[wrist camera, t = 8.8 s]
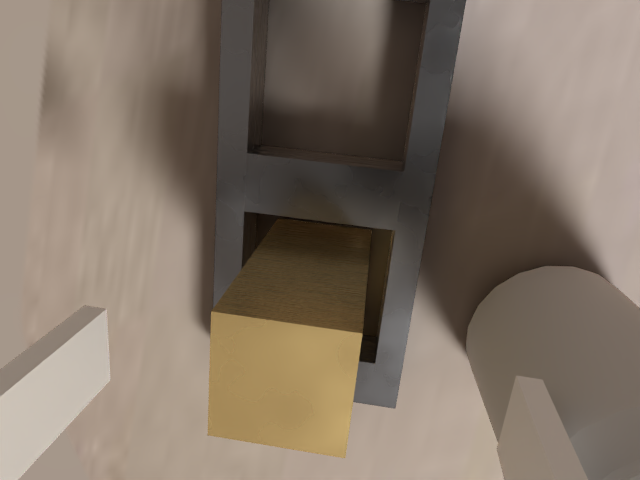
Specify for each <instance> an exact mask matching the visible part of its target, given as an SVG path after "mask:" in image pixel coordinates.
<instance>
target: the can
mask: <svg viewBox="0 0 640 480" xmlns="http://www.w3.org/2000/svg"><path fill="white" fill-rule="evenodd" d="M466 351H467V355H468V358H469V361H470V365H471V368H472V371H473V374H474V377H475V380H476V383H477V385H478V388H479V391H480V394H481V397H482V399H483V402H484V405H485V408H486V411H487V413H488V416H489V419H490V422H491V424H492V427H493V430H494V433H495V436H496V438H497V441H498V442H499V438H500V435H501V431H502V427H503V423H504V419H505V416H506V412H507V408H508V404H509V401H510V397H511V393H512V389H513V385H514V382H515V378H516V375H517V376H523V377H529V378H536V379H542V380H543V382H544V384H545V386H546V388H547V391H548V393H549V395H550V397H551V399H552V402H553V404H554V406H555V408H556V410H557V413H558V415H559V417H560V419H561V421H562V424H563V426H564V428H565V430H566V432H567V435H568V437H569V439H570V441H571V443H572V446H573V448H574V450H575V452H576V454H577V457H578V459H579V461H580V463H581V465H582V468H583V470H584V472H585V474H586V476H587V479H588V480H640V308H639V307H638V306H637V305H636V304H634V303H633V302H632V301H631V300H630V299H629V298H628V297H627V296H625V295H624V294H623V293H622V292H621V291H620V290H619V289H617V288H616V287H615V286H613V285H612V284H611V283H609V282H608V281H607V280H605V279H604V278H603V277H601V276H600V275H599V274H596V273H593V272H590V271H586V270H583V269H580V268H577V267H574V266H544V267H540V268H536V269H532V270H529V271H525V272H521V273H518V274H516V275H515V276H513V277H511V278H510V279H508V280H506V281H505V282H503V283H501V284H500V285H498V286H496V287H495V288H494V289H493V290H492V291H491V292H490V293H489V294H488V295H487V296H486V298H485V299H484V300H483V301H482V302H481V303H480V304H479V305H478V307H477V309H476V311H475V313H474V315H473V317H472V319H471V321H470V324H469V326H468V331H467V343H466Z"/></svg>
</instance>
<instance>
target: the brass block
mask: <svg viewBox="0 0 640 480" xmlns="http://www.w3.org/2000/svg"><path fill="white" fill-rule="evenodd" d="M371 233H372V230H368V229H360V228H352V227H345V226H337V225H329V224H321V223H313V222H306V221H298V220H290V219H282V218H278V220H277V221H276V222H275V224H274V225H273V226H272V228H271V229H270V231H269V232H268V233H267V235H266V236H265V238H264V239H263V240H262V242H261V243H260V244H259V246H258V247H257V249H256V250H255V251H254V253H253V254H252V256H251V257H250V258H249V260H248V261H247V262H246V264H245V265H244V267H243V268H242V269H241V271H240V272H239V274H238V275H237V276H236V278H235V279H234V280H233V282H232V283H231V285H230V286H229V287H228V289H227V290H226V292H225V293H224V294H223V296H222V297H221V299H220V300H219V301H218V303H217V304H216V305H215V307H214V308H213V310H212V311H211V334H210V371H209V408H208V435H210V436H216V437H222V438H228V439H234V440H239V441H245V442H251V443H257V444H263V445H269V446H275V447H281V448H287V449H293V450H299V451H305V452H311V453H317V454H323V455H329V456H335V457H341V458H345V456H346V449H347V441H348V434H349V427H350V420H351V413H352V406H353V398H354V391H355V384H356V377H357V370H358V363H359V355H360V348H361V341H362V334H363V323H364V312H365V301H366V289H367V278H368V267H369V256H370V244H371Z"/></svg>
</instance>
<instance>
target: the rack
mask: <svg viewBox="0 0 640 480" xmlns="http://www.w3.org/2000/svg"><path fill="white" fill-rule="evenodd" d="M397 1H408V2H420V3H426V8H425V15H424V21H423V28H422V35H421V41H420V48H419V55H418V61H417V68H416V75H415V81H414V88H413V95H412V101H411V108H410V115H409V121H408V128H407V135H406V141H405V148H404V155H403V161H396V160H387V159H378V158H370V157H361V156H353V155H344V154H335V153H327V152H318V151H310V150H301V149H292V148H284V147H275V146H267V145H261V135H262V118H263V100H264V82H265V65H266V47H267V29H268V12H269V0H222V14H221V49H220V84H219V119H218V154H217V189H216V224H215V259H214V294H213V308H214V307H215V305H216V304H217V303H218V301H219V300H220V299H221V297H222V296H223V294H224V293H225V292H226V290H227V289H228V287H229V286H230V285H231V283H232V282H233V280H234V279H235V278H236V276H237V275H238V274H239V272H240V271H241V269H242V268H243V267H244V265H245V264H246V262H247V261H248V260H249V258H250V257H251V256H252V254H253V253H254V251H255V241H256V224H257V213H262V214H270V215H277V216H285V217H293V218H301V219H309V220H316V221H324V222H332V223H340V224H348V225H355V226H363V227H371V228H379V229H387V230H392V235H391V241H390V248H389V255H388V261H387V268H386V275H385V281H384V288H383V295H382V301H381V308H380V315H379V321H378V328H377V335H376V337H373V336H367V335H362V341H361V348H360V355H359V363H358V370H357V377H356V384H355V391H354V398H353V402H357V403H363V404H369V405H376V406H382V407H388V408H395V407H396V402H397V396H398V390H399V384H400V378H401V373H402V367H403V361H404V355H405V350H406V344H407V338H408V332H409V327H410V321H411V315H412V309H413V303H414V298H415V292H416V286H417V280H418V275H419V269H420V263H421V257H422V252H423V246H424V240H425V234H426V228H427V223H428V217H429V211H430V205H431V200H432V194H433V188H434V182H435V177H436V171H437V165H438V159H439V153H440V148H441V142H442V136H443V130H444V125H445V119H446V113H447V107H448V102H449V96H450V90H451V84H452V78H453V73H454V67H455V61H456V55H457V50H458V44H459V38H460V32H461V27H462V21H463V15H464V9H465V3H466V0H397Z"/></svg>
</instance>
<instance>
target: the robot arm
mask: <svg viewBox="0 0 640 480" xmlns="http://www.w3.org/2000/svg"><path fill="white" fill-rule="evenodd" d="M109 381H110V363H109V344H108V325H107V309H104V308H98V307H92V306H86V305H85V306H83V307H82V308H81V309H79V310H78V311H77V312H75V313H74V314H73V315H71V316H70V317H69V318H67V319H66V320H65V321H63V322H62V323H61V324H60V325H58V326H57V327H56V328H54V329H53V330H52V331H50V332H49V333H48V334H46V335H45V336H44V337H42V338H41V339H40V340H38V341H37V342H36V343H34V344H33V345H32V346H30V347H29V348H28V349H26V350H25V351H24V352H23V353H21V354H20V355H19V356H17V357H16V358H15V359H13V360H12V361H11V362H9V363H8V364H7V365H5V366H4V367H3V368H1V369H0V480H18V479H19V478H20V477H21V476H22V475H23V474H24V473H25V472H26V470H28V468H29V467H30V466H31V465H32V464H33V463H34V462H35V461H36V460H37V459H38V458H39V456H40V455H41V454H42V453H43V452H44V451H45V450H46V449H47V448H48V447H49V446H50V445H51V444H52V442H53V441H54V440H55V439H56V438H57V437H58V436H59V435H60V434H61V433H62V432H63V431H64V430H65V428H66V427H67V426H68V425H69V424H70V423H71V422H72V421H73V420H74V419H75V418H76V417H77V415H78V414H79V413H80V412H81V411H82V410H83V409H84V408H85V407H86V406H87V405H88V404H89V402H90V401H91V400H92V399H93V398H94V397H95V396H96V395H97V394H98V393H99V392H100V391H101V389H102V388H103V387H104V386H105V385H106V384H107V383H108V382H109ZM497 452H498V456H499V460H500V464H501V468H502V472H503V476H504V479H505V480H588V479H587V476H586V474H585V472H584V470H583V468H582V465H581V463H580V461H579V459H578V457H577V454H576V452H575V450H574V448H573V446H572V443H571V441H570V439H569V437H568V435H567V432H566V430H565V428H564V426H563V424H562V421H561V419H560V417H559V415H558V413H557V410H556V408H555V406H554V404H553V402H552V399H551V397H550V395H549V393H548V391H547V388H546V386H545V384H544V382H543V380H542V379H536V378H529V377H523V376H517V375H516V378H515V382H514V385H513V389H512V393H511V397H510V401H509V404H508V408H507V412H506V416H505V419H504V423H503V427H502V431H501V435H500V438H499V442H498V446H497Z"/></svg>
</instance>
